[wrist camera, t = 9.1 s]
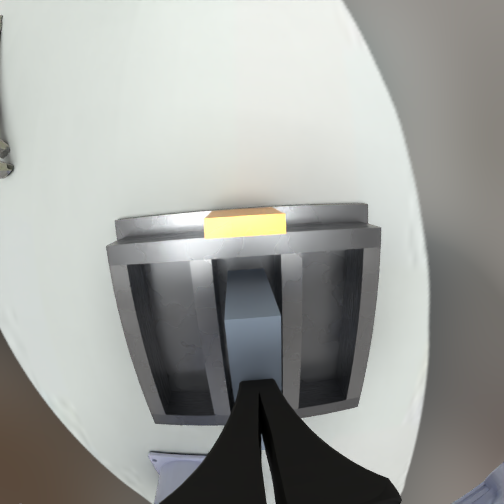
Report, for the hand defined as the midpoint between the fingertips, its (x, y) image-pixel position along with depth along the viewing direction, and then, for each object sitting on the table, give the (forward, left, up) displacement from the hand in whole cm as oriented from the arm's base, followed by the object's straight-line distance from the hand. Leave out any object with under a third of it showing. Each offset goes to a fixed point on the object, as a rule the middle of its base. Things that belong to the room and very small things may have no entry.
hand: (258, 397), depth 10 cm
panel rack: (0, 0, -7) cm, 7 cm away
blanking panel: (0, 0, -6) cm, 6 cm away
